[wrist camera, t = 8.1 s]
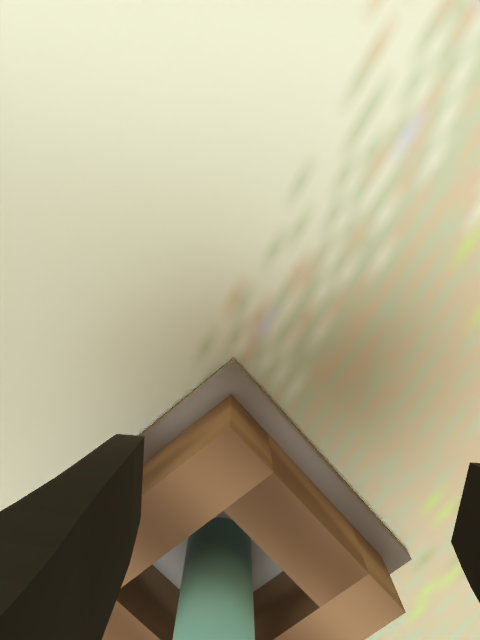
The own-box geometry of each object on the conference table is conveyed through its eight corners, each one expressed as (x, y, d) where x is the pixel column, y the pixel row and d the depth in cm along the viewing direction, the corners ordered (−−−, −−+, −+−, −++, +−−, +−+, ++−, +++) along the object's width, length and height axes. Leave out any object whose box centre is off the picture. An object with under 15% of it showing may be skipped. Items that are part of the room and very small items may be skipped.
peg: (219, 582, 21) (210, 754, 15) (174, 544, 21) (143, 704, 14) (264, 545, 21) (277, 704, 14) (219, 505, 20) (209, 651, 14)
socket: (207, 686, 24) (202, 768, 20) (27, 526, 21) (-14, 588, 18) (406, 550, 22) (439, 614, 18) (233, 358, 19) (233, 389, 16)
